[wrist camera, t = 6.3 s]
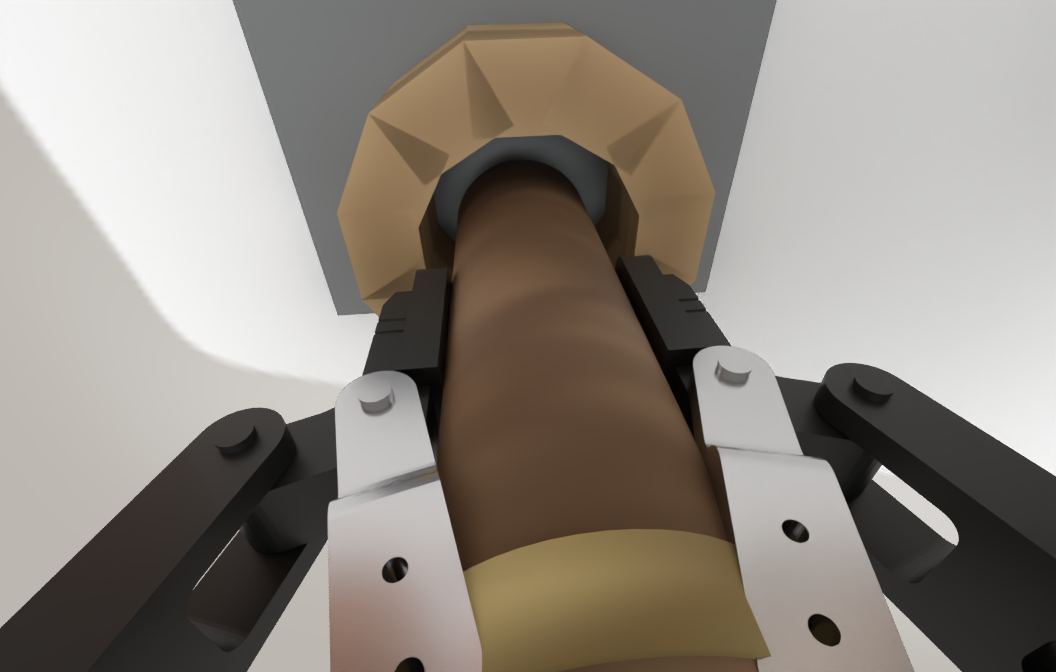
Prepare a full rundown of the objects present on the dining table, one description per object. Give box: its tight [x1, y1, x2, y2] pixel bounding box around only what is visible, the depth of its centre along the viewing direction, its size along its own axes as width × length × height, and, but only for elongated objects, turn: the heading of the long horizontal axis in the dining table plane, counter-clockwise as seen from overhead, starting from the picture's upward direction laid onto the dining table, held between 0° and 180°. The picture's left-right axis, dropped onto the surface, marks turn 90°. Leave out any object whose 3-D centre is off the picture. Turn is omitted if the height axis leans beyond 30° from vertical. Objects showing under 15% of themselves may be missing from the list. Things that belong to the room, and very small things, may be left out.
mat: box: [233, 0, 776, 315], centre depth 14 cm, size 15×16×1 cm
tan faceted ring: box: [337, 22, 715, 316], centre depth 15 cm, size 10×10×4 cm
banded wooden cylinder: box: [436, 160, 771, 672], centre depth 9 cm, size 4×4×14 cm
